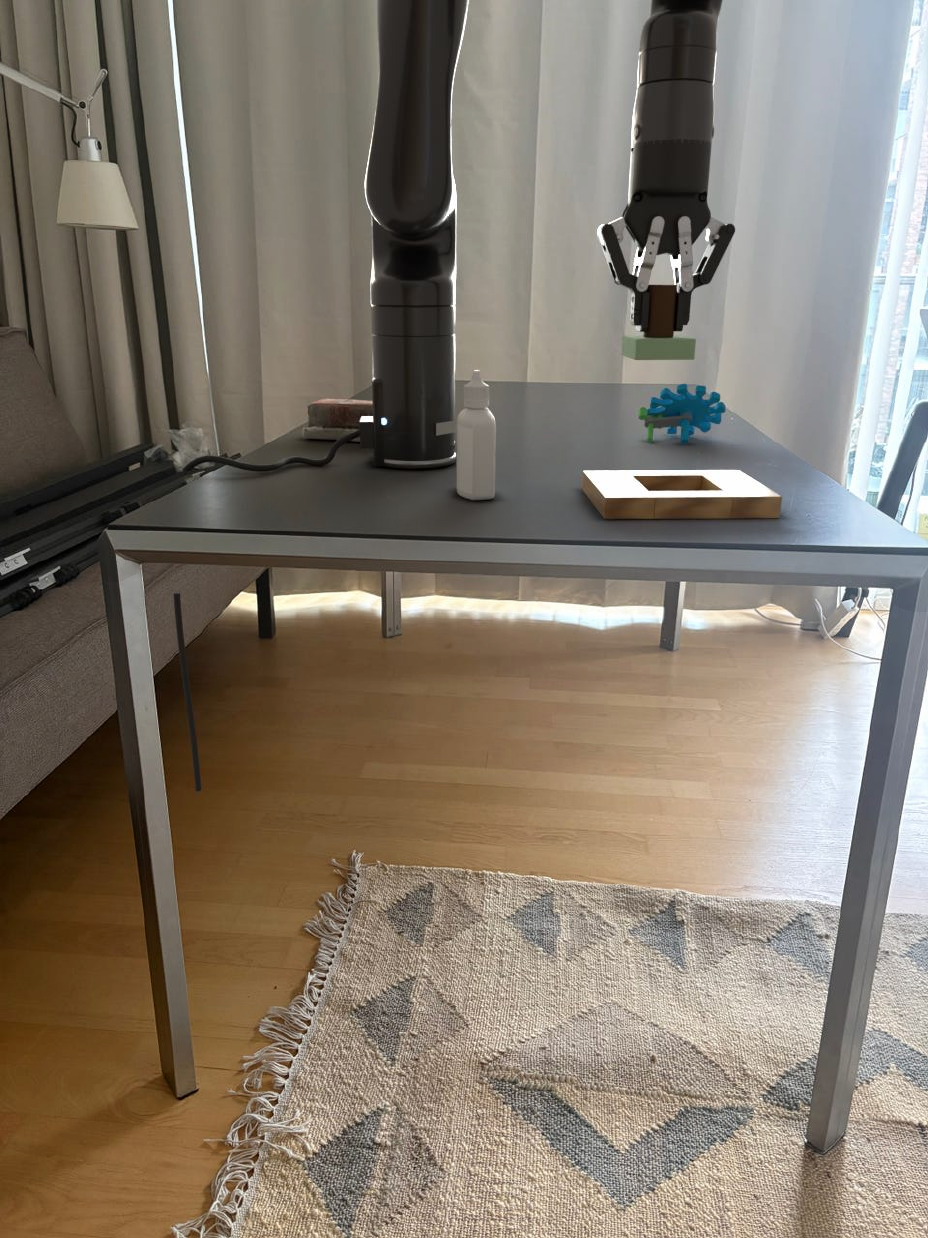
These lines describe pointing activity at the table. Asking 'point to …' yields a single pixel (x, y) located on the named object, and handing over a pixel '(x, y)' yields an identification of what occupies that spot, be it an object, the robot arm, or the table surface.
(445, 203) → the robot arm
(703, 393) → the gear
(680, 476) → the wooden board
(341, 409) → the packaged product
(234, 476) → the table surface
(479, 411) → the eye dropper bottle
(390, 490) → the table surface
